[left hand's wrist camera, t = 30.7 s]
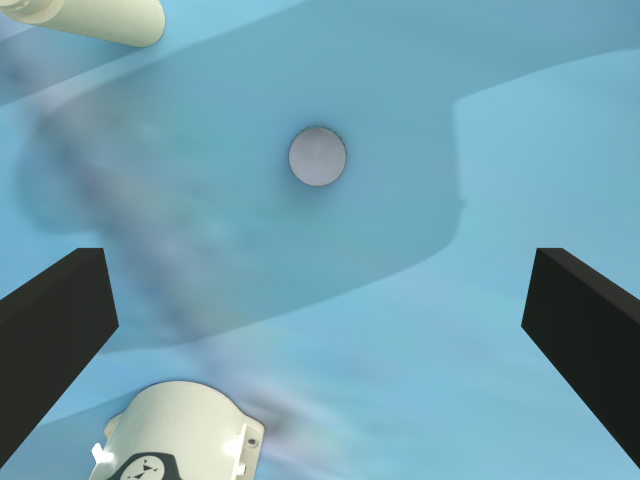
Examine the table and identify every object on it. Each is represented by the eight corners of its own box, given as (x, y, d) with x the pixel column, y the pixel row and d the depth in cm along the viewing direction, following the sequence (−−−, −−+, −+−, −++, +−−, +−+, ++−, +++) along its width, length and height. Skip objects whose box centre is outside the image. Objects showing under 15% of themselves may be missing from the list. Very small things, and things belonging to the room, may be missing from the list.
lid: (333, 116, 37) (334, 117, 34) (353, 169, 38) (355, 174, 36) (280, 137, 37) (278, 140, 35) (302, 189, 39) (301, 195, 37)
